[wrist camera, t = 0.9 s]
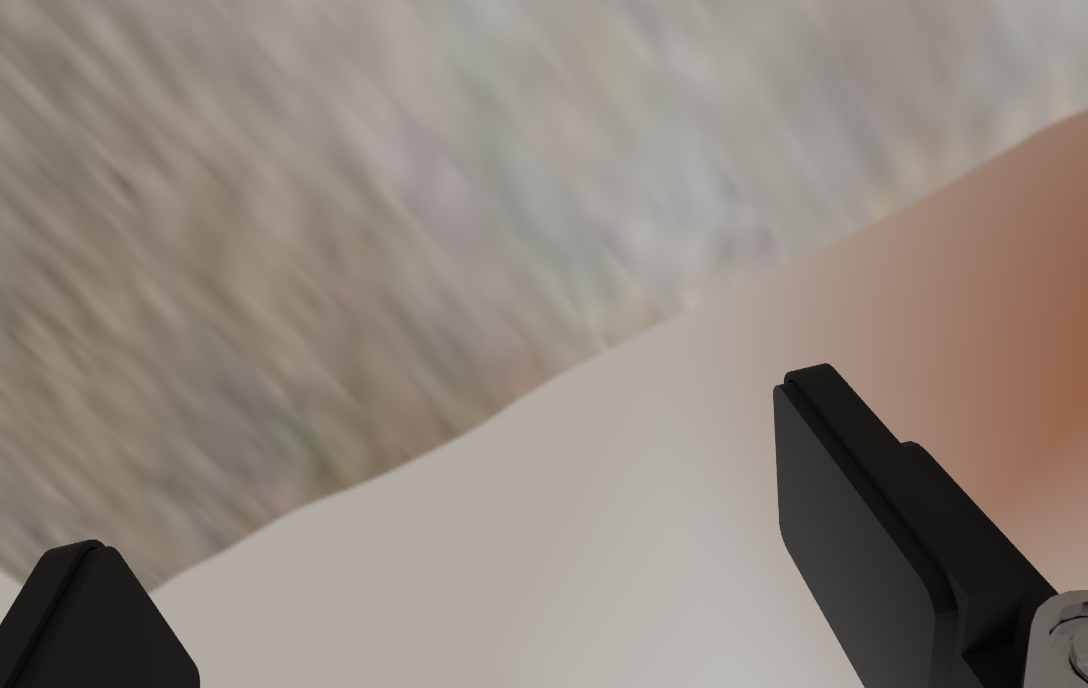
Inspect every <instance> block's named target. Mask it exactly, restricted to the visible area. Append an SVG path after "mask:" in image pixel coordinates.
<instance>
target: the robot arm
mask: <svg viewBox="0 0 1088 688" xmlns="http://www.w3.org/2000/svg"><path fill="white" fill-rule="evenodd" d="M773 399H774V400H773V401H774V422H775V442H776V464H777V484H778V506H779V524H780V530H781V535H782V538H783V541H784V543H785V546H786V548H787V550H788V552H789V554H790V555H791V557H792V559H793V561H794V563H795V564H796V566H797V568H798V569H799V571H800V573H801V575H802V577H803V579H804V580H805V582H806V584H807V586H808V587H809V589H810V591H811V593H812V594H813V596H814V598H815V600H816V602H817V603H818V605H819V607H820V609H821V611H822V612H823V614H824V616H825V618H826V620H827V621H828V623H829V625H830V627H831V628H832V630H833V632H834V634H835V635H836V637H837V639H838V641H839V643H840V644H841V646H842V648H843V650H844V651H845V653H846V655H847V657H848V659H849V660H850V662H851V664H852V666H853V668H854V669H855V671H856V673H857V675H858V676H859V678H860V680H861V682H862V684H863V685H864V687H865V688H1088V590H1077V591H1068V592H1065V593H1062V594H1058V593H1057V591H1056V590H1055V589H1054V588H1053V587H1052V586H1051V585H1050V584H1049V583H1048V582H1047V581H1046V580H1045V578H1044V577H1043V576H1042V575H1041V574H1040V573H1039V572H1038V571H1037V570H1036V569H1035V568H1034V567H1033V566H1032V565H1031V563H1030V562H1029V561H1028V560H1027V559H1026V558H1025V557H1024V556H1023V555H1022V554H1021V552H1020V551H1019V550H1018V549H1017V548H1016V547H1015V546H1014V545H1013V544H1012V543H1011V542H1010V541H1009V539H1008V538H1007V537H1006V536H1005V535H1004V534H1003V533H1002V532H1001V531H1000V530H999V529H998V528H997V527H996V525H995V524H994V523H993V522H992V521H991V520H990V519H989V518H988V517H987V516H986V515H985V514H984V512H983V511H982V510H981V509H980V508H979V507H978V506H977V505H976V504H975V503H974V502H973V501H972V499H971V498H970V497H969V496H968V495H967V494H966V493H965V492H964V491H963V490H962V489H961V488H960V486H959V485H958V484H957V483H956V482H955V481H954V480H953V479H952V478H951V477H950V476H949V475H948V473H947V472H945V470H944V469H943V468H942V467H941V466H940V465H939V464H938V463H937V462H936V461H935V459H934V458H933V457H932V456H931V455H930V454H929V453H928V452H927V451H926V450H925V449H924V448H923V447H921V446H920V445H919V444H918V443H915V442H912V441H909V442H904V443H900V442H899V441H898V440H897V439H896V438H895V436H894V435H893V434H892V433H891V432H890V431H889V430H888V428H887V427H886V426H885V425H884V424H883V423H882V422H881V421H880V420H879V418H878V417H877V416H876V415H875V414H874V413H873V412H872V411H871V409H870V408H869V407H868V406H867V405H866V404H865V403H864V402H863V400H862V399H861V398H860V397H859V396H858V395H857V394H856V392H854V390H853V389H852V388H851V387H850V386H849V385H848V383H847V382H846V381H845V380H844V379H843V378H842V377H841V376H840V375H839V373H838V372H837V371H836V370H835V369H834V368H833V367H832V366H831V365H830V364H827V363H824V364H820V365H816V366H811V367H808V368H803V369H799V370H795V371H791V372H788V373H786V375H785V378H784V384H781V385H777V386H775V387H774V390H773ZM0 688H200V676H199V672H198V669H197V667H196V665H195V663H194V662H193V660H192V659H191V657H190V656H189V654H188V653H187V651H186V650H185V649H184V647H183V645H182V644H181V643H180V641H179V640H178V638H177V637H176V636H175V634H174V632H173V631H172V629H171V628H170V626H169V625H168V624H167V622H166V621H165V619H164V618H163V616H162V615H161V613H160V612H159V610H158V609H157V607H156V606H155V604H154V603H153V601H152V600H151V599H150V597H149V596H148V594H147V593H146V591H145V590H144V588H143V587H142V585H141V584H140V582H139V581H138V580H137V578H136V577H135V575H134V574H133V572H132V571H131V569H130V568H129V566H128V565H127V563H126V562H125V560H124V559H123V558H122V556H121V555H120V553H119V552H118V551H117V550H116V549H115V548H113V547H111V546H107V547H105V546H104V544H103V543H102V542H100V541H98V540H86V541H82V542H78V543H74V544H70V545H65V546H61V547H57V548H53V549H50V550H48V551H47V552H45V553H44V555H43V556H42V557H41V558H40V560H39V561H38V563H37V565H36V566H35V568H34V570H33V571H32V573H31V575H30V576H29V578H28V580H27V581H26V583H25V585H24V586H23V588H22V590H21V591H20V593H19V595H18V596H17V598H16V600H15V601H14V603H13V604H12V606H11V608H10V610H9V611H8V613H7V614H6V616H5V618H4V619H3V621H2V623H1V625H0Z"/></svg>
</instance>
